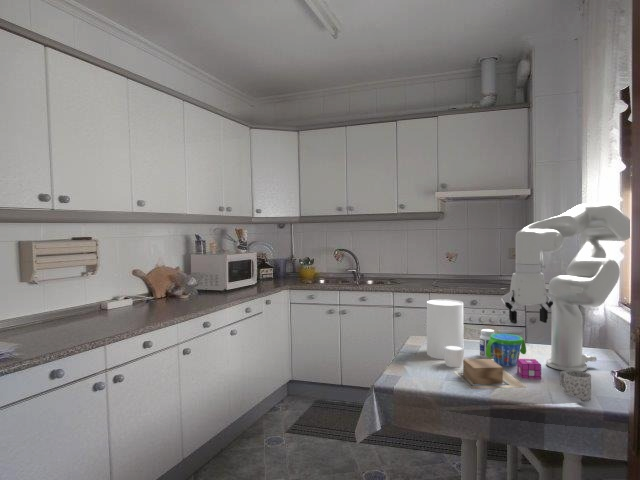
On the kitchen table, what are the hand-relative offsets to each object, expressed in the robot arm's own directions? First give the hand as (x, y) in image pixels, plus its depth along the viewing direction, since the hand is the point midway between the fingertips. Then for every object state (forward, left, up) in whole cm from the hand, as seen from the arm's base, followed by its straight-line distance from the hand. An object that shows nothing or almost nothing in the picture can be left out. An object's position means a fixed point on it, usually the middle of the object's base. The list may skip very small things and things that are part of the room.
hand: (528, 322), depth 146 cm
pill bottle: (+3, -25, -18) cm, 31 cm away
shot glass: (+20, -13, -19) cm, 30 cm away
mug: (-6, +14, -19) cm, 24 cm away
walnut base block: (+16, +2, -17) cm, 24 cm away
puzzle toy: (0, 0, -19) cm, 19 cm away
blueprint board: (+14, +2, -18) cm, 23 cm away
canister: (+18, -29, -18) cm, 39 cm away
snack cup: (+1, -14, -18) cm, 23 cm away
